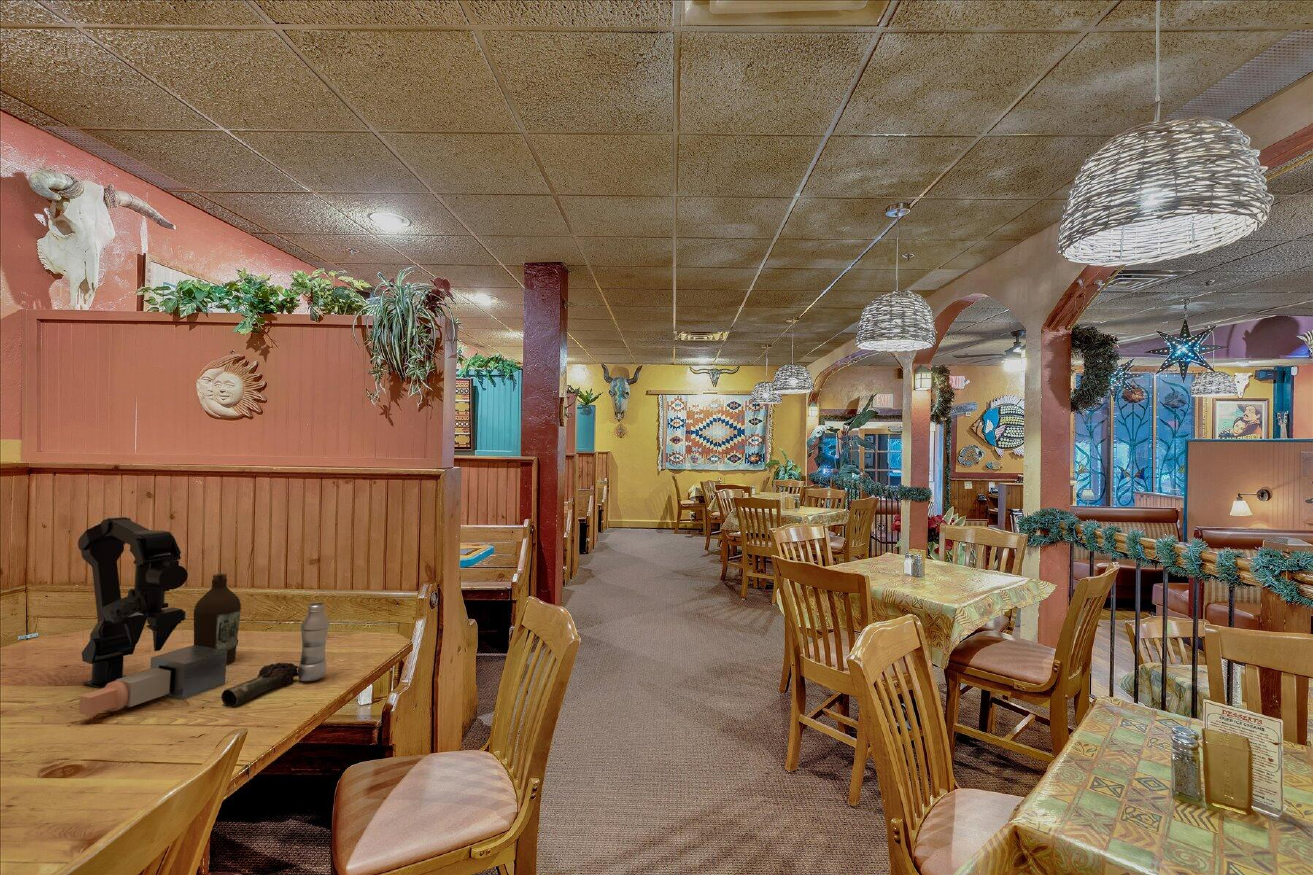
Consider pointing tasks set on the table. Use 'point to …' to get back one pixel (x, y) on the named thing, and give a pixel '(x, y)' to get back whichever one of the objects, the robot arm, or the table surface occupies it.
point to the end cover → (127, 691)
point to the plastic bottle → (313, 644)
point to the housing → (192, 669)
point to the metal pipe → (260, 683)
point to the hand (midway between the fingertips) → (145, 647)
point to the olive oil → (218, 618)
